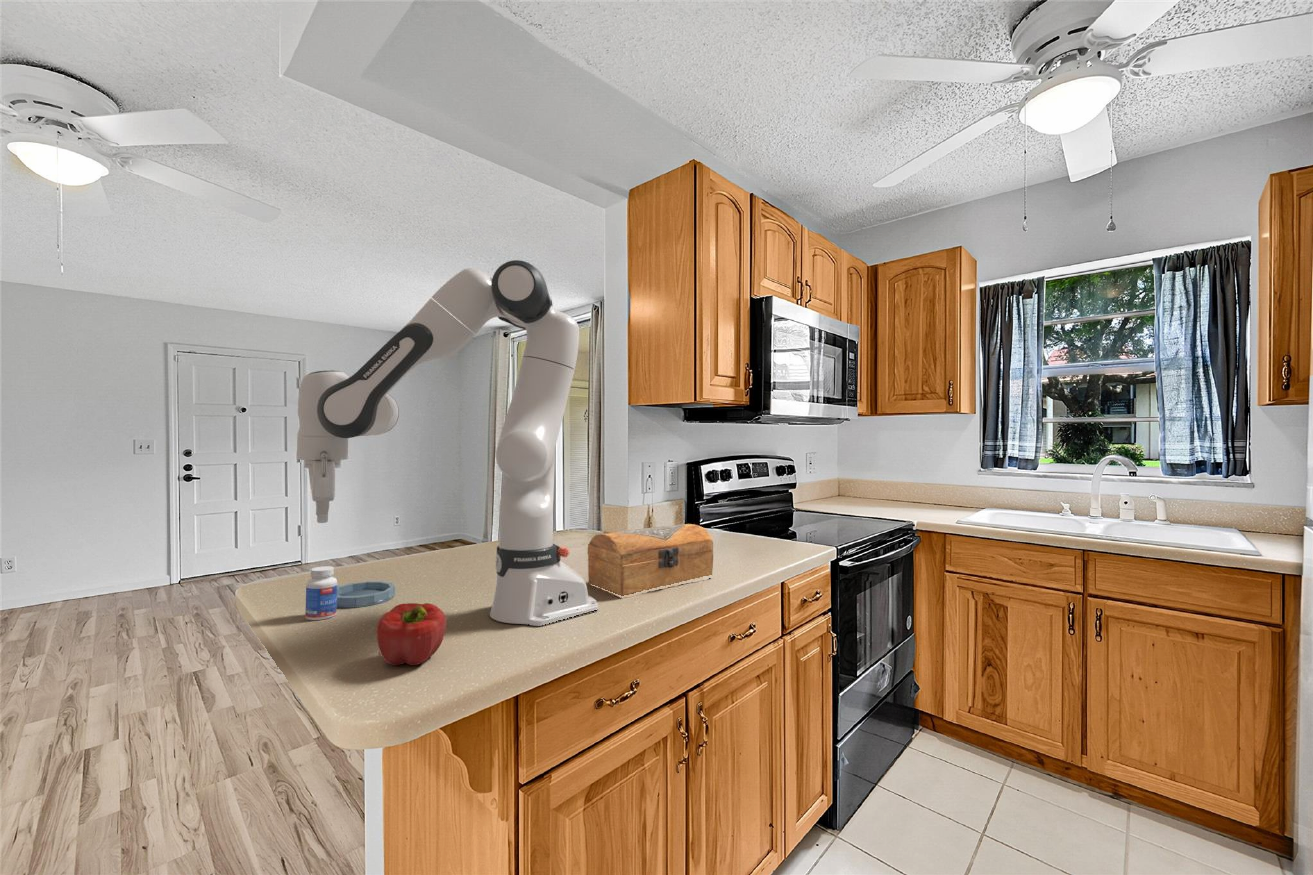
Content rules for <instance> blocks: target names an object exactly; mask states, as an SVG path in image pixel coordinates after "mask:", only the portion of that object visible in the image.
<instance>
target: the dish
mask: <svg viewBox="0 0 1313 875" xmlns="http://www.w3.org/2000/svg"><path fill="white" fill-rule="evenodd" d="M395 594H396V585H395V584H394V583H393V582H389V581H384V580H379V581H378V580H366V581H359V582H358V581H357V582H350V583H346V584H343V585H337V608H339V609H355V608H364V607H371V606H375V605H379V604H382V603H386V602H388V601H391V600H392V599H393V598H394V597H395Z"/></svg>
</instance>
